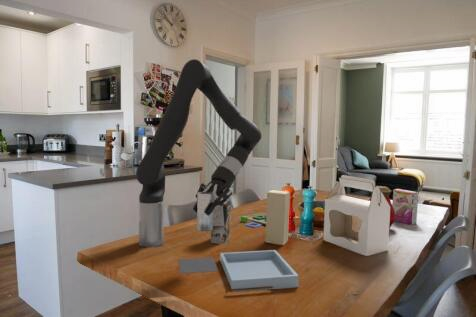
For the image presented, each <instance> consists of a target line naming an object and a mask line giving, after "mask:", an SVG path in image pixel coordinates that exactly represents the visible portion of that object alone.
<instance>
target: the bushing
mask: <svg viewBox="0 0 476 317" xmlns="http://www.w3.org/2000/svg"><path fill="white" fill-rule="evenodd" d="M197 192H198V191H197ZM197 192H196V194H197V198H196V202H197V212H196V219H197V220H196V221H197V222H196V227H197V228H196V229H197V231H199V232H211V230H212V229H213V211H212V213H211V214H210V215H209V216H208V215H206V214H205V213H204V211H205V209H206V208H207V206H208V205H209V203H211V200H212V194H213V193H212V192H198V193H197Z"/></svg>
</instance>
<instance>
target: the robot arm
mask: <svg viewBox="0 0 476 317" xmlns="http://www.w3.org/2000/svg"><path fill="white" fill-rule="evenodd" d="M197 89H198V90H199V91H200V92H201V93H202V94H203V95H204V96H205V97H206V98H207V99H208V100H209V102H210V103H211V105H212V106H213V108H214V110H215V112H216V113H217V115H218V116H219V117H220V119H221V120H222V121H223V122H224V124H225V125H226V126H227V127H228V128H229V129H230V130H233V131H234V130H236V131H237V132H238V133H240V135H239V136H238V137H237V139H236V141H235V142H234V145H233V146H232V147H231V148H230V149H229V151H228V152H227V154H226V155H225V156H224V157H223V159H222V160H221V161H220V162H219V165H218V166H217V167H216V168H215V170H214V172H213V173H212V174H211V176H210V177H211V179H210V181H209V182H208V183H207V184H205V183H201V184H200V185H199V188H198V190H197V192H196V194H195V198H196V199H197V193H198V192H212V193H213V194H212V200H211V203H209V205H208V206H207V208H206V209H205V211H204V213H205V214H206V215H208V216H209V215H210V214H211V213H212V211H213V210H214V208H215V207H217V206H218V205H220V206H222V205H223V204H224V203H225V202H226V201H228V200H229V198H231V196H232V195H233V191H232V190H231V189H230V188H232V185H234V183H235V181H236V179H237V178H238V176H239V175H240V173H241V170H242V168H243V167H244V165H245V164H246V162H247V161H248V158H249V156H250V154H251V153H252V152H253V150H254V148H255V147H256V146H257V145H258V143H259V142H260V141H261V139H262V132H261V130H260V128H259V126H257V125H256V124H255V123H254V122H253V121H251V120H250V119H249V118H247V117H246V116H245V115H243V113H242V112H241V111H240V109H239V108H238V107H237V106H236V105H235V104H234V103H233V101H232V100H231V99H230V98H229V97H228V96H227V95H226V93H225V92H224V90H222V89H221V87H220V86H219V84H218V83H217V81H216V79H215V77H214V75H213V73H212V72H211V70H210V69H209V67H208V66H207V64H205V63H203V62H202V61H201V60H199V59H196V58H195V59H190V60H188V61H186V63H185V64H184V65H183V67H182V69H181V72H180V75H179V78H178V80H177V83H176V87H175V89H174V92H173V94H172V96H171V98H170V99H169V100H170V101H169V102H168V105H167V107H166V109H165V111H164V112H163V115H162V117H161V119H160V121H159V124H158V126H157V129H156V131H155V133H154V136H153V138H152V140H151V143H150V145H149V147H148V149H147V151H146V153H145V154H144V156H143V157H142V159H141V161H140V163H139V164H138V166H137V168H136V174H135V177H136V180H137V181H138V183H139V184H141V185H142V189H141V191H140V193H139V198H138V200H139V202H138V204H139V205H138V207H139V208H138V210H139V212H138V213H139V220H138V246H139V247H142V248H144V247H145V248H155V247H156V248H157V247H159V246H162V245H163V244H164V197H165V196H164V195H165V192H166V169H165V167H164V165H163V164H164V162H165V159H166V157H167V156H168V154H169V153H170V152H171V150H172V149H173V148H174V147H175V145H176V144H177V142H178V140H180V139H181V136H182V134H183V132H184V130H185V128H186V126H187V123H188V120H189V115H190V110H191V102H192V99H193V97H194V95H195V93H196V92H197ZM192 210H193V212H195V213H197V201H196V203H195V204H194V205H193V207H192Z"/></svg>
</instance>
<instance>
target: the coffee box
mask: <svg viewBox="0 0 476 317" xmlns="http://www.w3.org/2000/svg"><path fill="white" fill-rule="evenodd" d="M231 203H232V202H231V200H226V202H225V203H224V204H223V205H222V206H220V205H218V206H217V207H215V208H214V210H213V229H212V230H211V231H210V244H220V245H221V244H224V245H225V244H227V243H228V241H229V239H230V238H231V207H232V206H231V205H232V204H231Z"/></svg>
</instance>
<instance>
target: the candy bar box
mask: <svg viewBox="0 0 476 317" xmlns="http://www.w3.org/2000/svg"><path fill="white" fill-rule="evenodd" d="M418 203H419V192H418V191H412V190H407V189H401V188H395V189H393V190H392V201H391V204H392V206H393V209H394V211H395V214H396V217H397V218H396V220H395V221H394V222H399V223H403V224H407V225H410V226H414V225H417V219H418V205H419V204H418Z"/></svg>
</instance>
